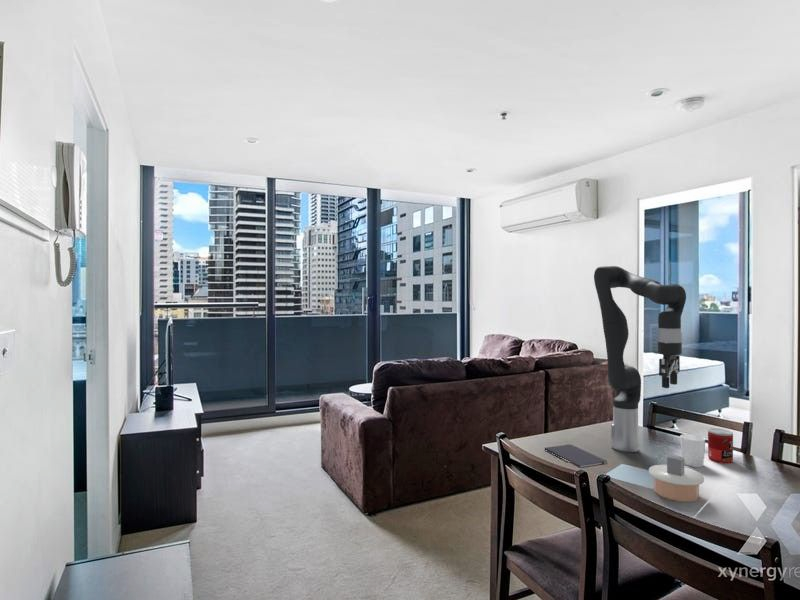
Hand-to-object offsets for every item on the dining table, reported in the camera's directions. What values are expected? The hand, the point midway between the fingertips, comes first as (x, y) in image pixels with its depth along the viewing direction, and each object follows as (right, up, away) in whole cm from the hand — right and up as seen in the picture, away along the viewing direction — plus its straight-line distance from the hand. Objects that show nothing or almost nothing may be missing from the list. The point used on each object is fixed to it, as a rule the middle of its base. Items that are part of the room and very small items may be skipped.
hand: (669, 386), depth 169 cm
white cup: (+12, -30, +6) cm, 33 cm away
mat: (-15, -30, -6) cm, 34 cm away
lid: (-10, -25, -20) cm, 33 cm away
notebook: (-28, -31, +15) cm, 45 cm away
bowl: (-9, -31, -20) cm, 38 cm away
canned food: (+25, -30, +10) cm, 40 cm away
